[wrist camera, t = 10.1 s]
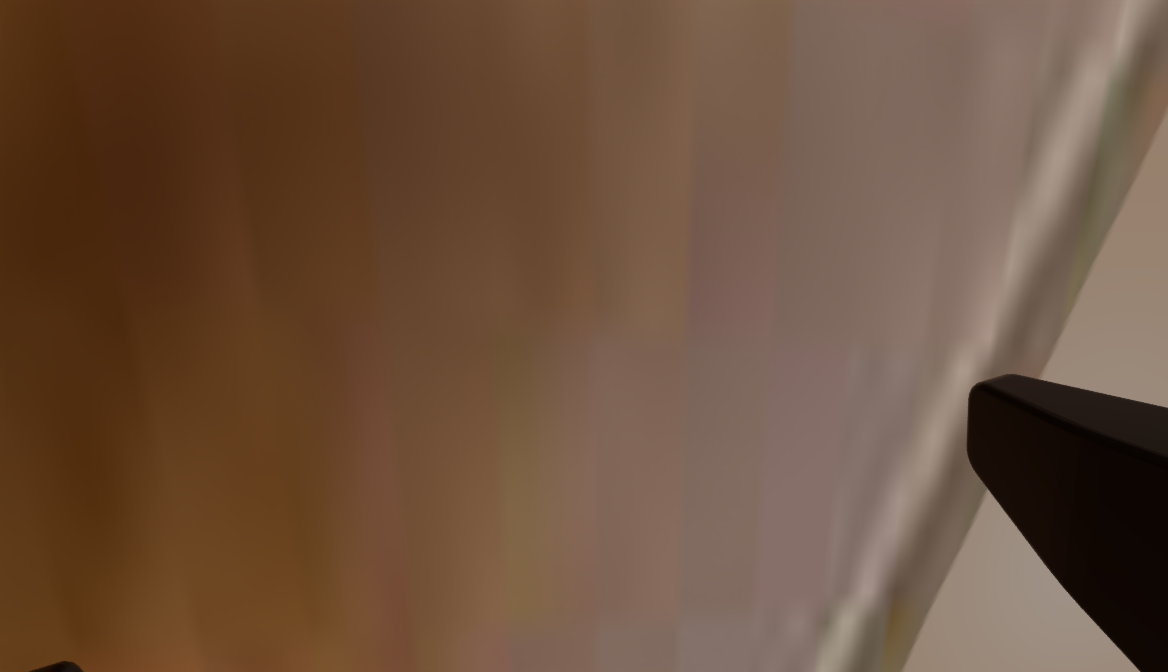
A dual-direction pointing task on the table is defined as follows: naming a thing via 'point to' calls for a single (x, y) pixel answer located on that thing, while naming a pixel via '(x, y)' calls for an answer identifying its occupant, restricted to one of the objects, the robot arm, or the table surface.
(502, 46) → the table surface
